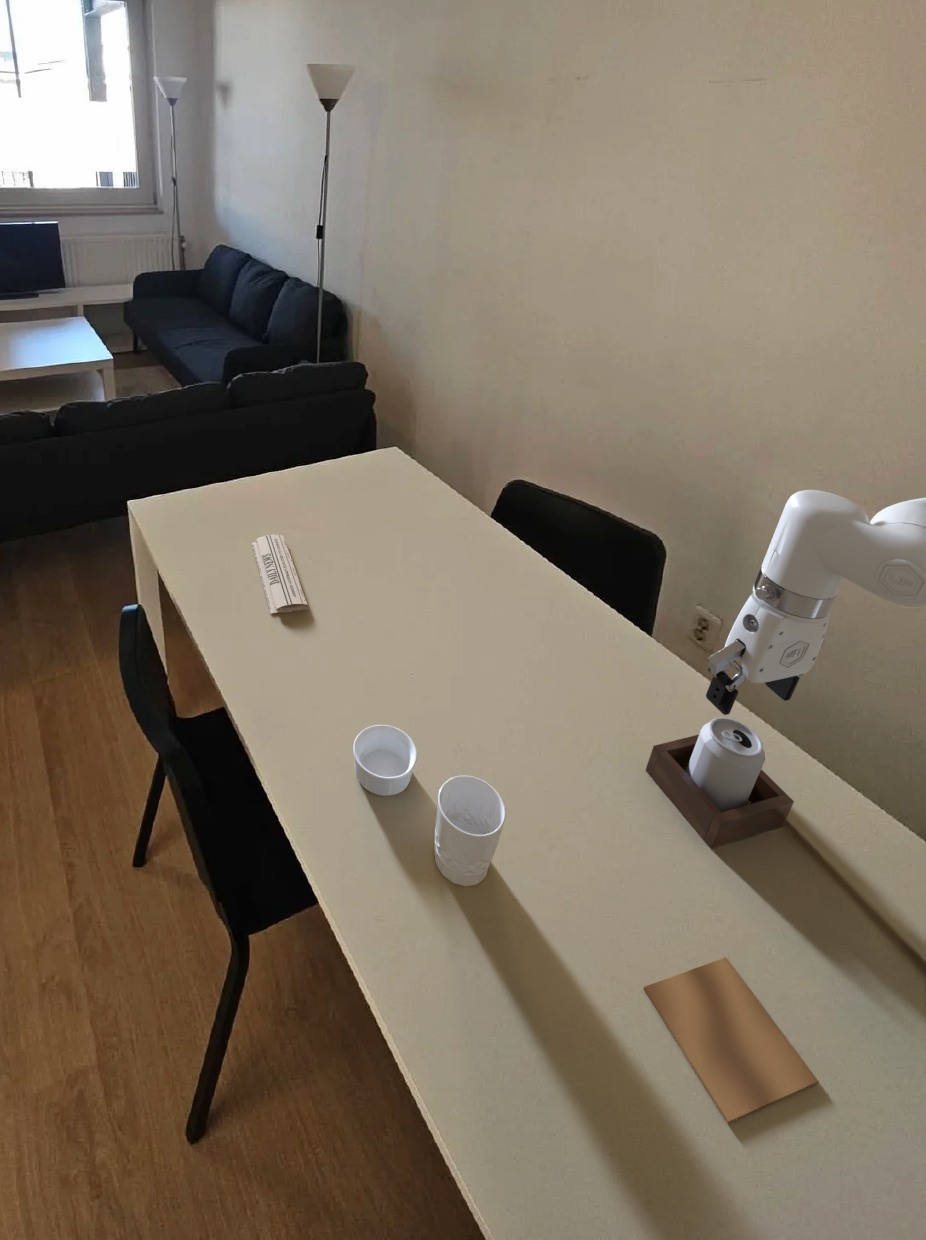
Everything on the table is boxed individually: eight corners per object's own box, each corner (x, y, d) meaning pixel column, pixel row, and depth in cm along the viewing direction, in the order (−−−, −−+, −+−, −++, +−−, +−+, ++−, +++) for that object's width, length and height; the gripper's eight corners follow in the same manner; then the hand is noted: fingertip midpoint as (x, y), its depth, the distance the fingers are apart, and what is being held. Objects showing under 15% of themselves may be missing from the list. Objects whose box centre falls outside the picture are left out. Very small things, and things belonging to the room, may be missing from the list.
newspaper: (307, 609, 126) (308, 602, 125) (270, 614, 124) (270, 606, 123) (283, 540, 147) (283, 533, 146) (251, 543, 145) (251, 536, 144)
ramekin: (406, 810, 89) (409, 787, 87) (343, 787, 92) (345, 765, 90) (420, 757, 97) (423, 735, 95) (361, 738, 99) (363, 716, 98)
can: (753, 824, 89) (782, 760, 84) (697, 822, 89) (723, 758, 84) (723, 775, 96) (748, 713, 91) (671, 773, 96) (693, 711, 91)
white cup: (425, 827, 87) (434, 773, 83) (486, 830, 87) (497, 777, 83) (433, 890, 80) (443, 834, 76) (499, 894, 80) (513, 838, 76)
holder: (711, 753, 99) (720, 728, 97) (782, 827, 89) (794, 801, 87) (645, 770, 96) (653, 745, 94) (710, 849, 86) (721, 823, 84)
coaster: (724, 959, 74) (725, 956, 74) (817, 1083, 65) (818, 1081, 64) (643, 988, 71) (643, 986, 71) (727, 1124, 62) (728, 1122, 62)
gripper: (763, 623, 73) (716, 736, 80) (878, 601, 78) (825, 709, 85) (709, 581, 79) (670, 688, 86) (818, 563, 84) (773, 666, 91)
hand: (747, 699), depth 86 cm, fingers open, 9 cm apart
